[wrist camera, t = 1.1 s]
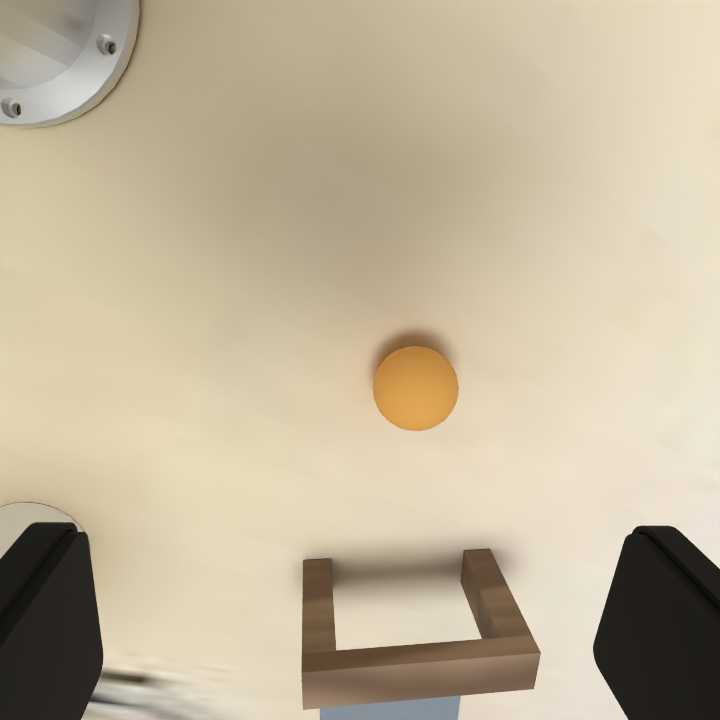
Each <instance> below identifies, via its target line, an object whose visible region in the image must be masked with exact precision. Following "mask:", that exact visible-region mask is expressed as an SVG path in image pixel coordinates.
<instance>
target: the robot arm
mask: <svg viewBox="0 0 720 720" xmlns="http://www.w3.org/2000/svg"><path fill="white" fill-rule="evenodd" d="M139 15H140V5H139V0H0V125H1V126H6V127H20V128H38V127H45V126H53V125H58V124H60V123H63V122H66V121H69V120H71V119H74V118H77V117H79V116H81V115H82V114H84V113H85V112H87V111H88V110H90V109H91V108H93V107H94V106H96V105H98V104H99V103H100V102H101V101H102V100H103V98H104V97H105V96H106V95H107V94H108V93H109V92H110V91H111V90H112V89H113V88H114V87H115V85H116V84H117V82H118V80H119V79H120V77H121V75H122V74H123V72H124V70H125V69H126V67H127V65H128V62H129V59H130V56H131V53H132V50H133V48H134V45H135V42H136V36H137V29H138V22H139ZM113 43H114V44H116V51H115V53H114V54H110V53H109V46H110V44H113ZM18 105H20V107H21V114H20V115H19V114H18V112H17V106H18ZM593 653H594V658H595V661H596V664H597V666H598V668H599V670H600V672H601V674H602V675H603V677H604V679H605V680H606V682H607V684H608V686H609V687H610V689H611V691H612V692H613V694H614V696H615V698H616V699H617V701H618V703H619V704H620V706H621V708H622V709H623V711H624V713H625V715H626V716H627V718H628V720H720V569H719V568H718V567H717V566H716V565H715V564H714V563H713V562H712V561H711V560H709V559H708V558H707V557H706V556H705V555H704V554H703V553H702V552H701V551H700V550H699V549H698V548H697V547H696V546H695V545H694V544H693V543H692V542H690V541H689V540H688V539H687V538H686V537H685V536H684V535H683V534H682V533H681V532H680V531H679V530H677V529H676V528H674V527H671V526H638V527H636V528H635V529H634V530H633V532H632V534H629V535H628V536H627V537H626V538H625V541H624V544H623V547H622V550H621V554H620V557H619V560H618V564H617V567H616V570H615V574H614V577H613V580H612V584H611V587H610V590H609V594H608V597H607V600H606V604H605V607H604V610H603V614H602V617H601V621H600V624H599V627H598V631H597V634H596V637H595V641H594V645H593ZM102 665H103V647H102V640H101V632H100V625H99V617H98V609H97V602H96V594H95V587H94V579H93V571H92V564H91V556H90V549H89V541H88V536H87V534H86V533H85V532H78V530H77V527H76V525H75V524H74V523H72V522H35V523H32V524H30V525H29V526H28V527H27V528H26V529H25V530H24V532H23V533H22V534H21V535H20V536H19V537H18V539H17V540H16V541H15V542H14V543H13V544H12V546H11V547H10V548H9V549H8V550H7V551H6V553H5V554H4V555H3V556H2V557H1V558H0V720H81V718H82V716H83V714H84V711H85V709H86V707H87V705H88V702H89V700H90V698H91V696H92V693H93V691H94V689H95V687H96V684H97V682H98V679H99V677H100V673H101V670H102Z"/></svg>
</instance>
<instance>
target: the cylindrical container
mask: <svg viewBox="0 0 720 720" xmlns="http://www.w3.org/2000/svg"><path fill="white" fill-rule="evenodd" d="M35 522H72V523H74V524H75V525H76V527H77V530H78V532H84V531H83V529H82V528H81V527H80V526H79V525H78V523H77V522H76V521H74V520H73V519H72V518H71V517H69V516H68V515H67V514H65V513H63V512H61V511H60V510H58V509H55V508H52V507H50V506H46V505H42V504H38V503H27V502H24V503H13V504H9V505H5V506H2V507H0V558H1V557H2V556H3V555H4V554H5V553H6V551H7V550H8V549H9V548H10V547H11V546H12V544H13V543H14V542H15V541H16V540H17V539H18V537H19V536H20V535H21V534H22V533H23V532H24V530H25V529H26V528H27V527H28V526H29V525H30V524H32V523H35ZM89 549H90V546H89Z"/></svg>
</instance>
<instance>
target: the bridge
mask: <svg viewBox="0 0 720 720" xmlns="http://www.w3.org/2000/svg"><path fill="white" fill-rule="evenodd" d="M461 584H462V587H463V590H464V592H465V595H466V597H467V600H468V603H469V605H470V608H471V611H472V613H473V616H474V619H475V621H476V624H477V627H478V629H479V632H480V634H481V637H482V639H478V640H466V641H453V642H440V643H428V644H415V645H402V646H390V647H377V648H364V649H352V650H339V651H336V640H335V623H334V606H333V589H332V572H331V559H315V560H303V611H302V694H303V710H305V709H316V708H328V707H339V706H350V705H361V704H372V703H383V702H394V701H405V700H416V699H427V698H439V697H450V696H461V695H472V694H483V693H494V692H505V691H516V690H527V689H534V685H535V680H536V675H537V670H538V665H539V659H540V654H541V652H540V650H539V648H538V646H537V644H536V642H535V640H534V638H533V636H532V634H531V632H530V630H529V628H528V626H527V624H526V622H525V620H524V618H523V616H522V614H521V612H520V610H519V608H518V606H517V603H516V601H515V599H514V597H513V595H512V593H511V591H510V589H509V587H508V585H507V583H506V581H505V579H504V577H503V575H502V573H501V571H500V569H499V567H498V565H497V563H496V561H495V559H494V557H493V555H492V553H491V550H490V549H481V550H464V554H463V564H462V573H461Z"/></svg>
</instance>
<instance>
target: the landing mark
mask: <svg viewBox="0 0 720 720" xmlns="http://www.w3.org/2000/svg"><path fill="white" fill-rule="evenodd" d="M459 703H460V696H450V697H439V698H427V699H416V700H405V701H394V702H383V703H372V704H361V705H350V706H339V707H328V708H320V720H458V711H459Z"/></svg>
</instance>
